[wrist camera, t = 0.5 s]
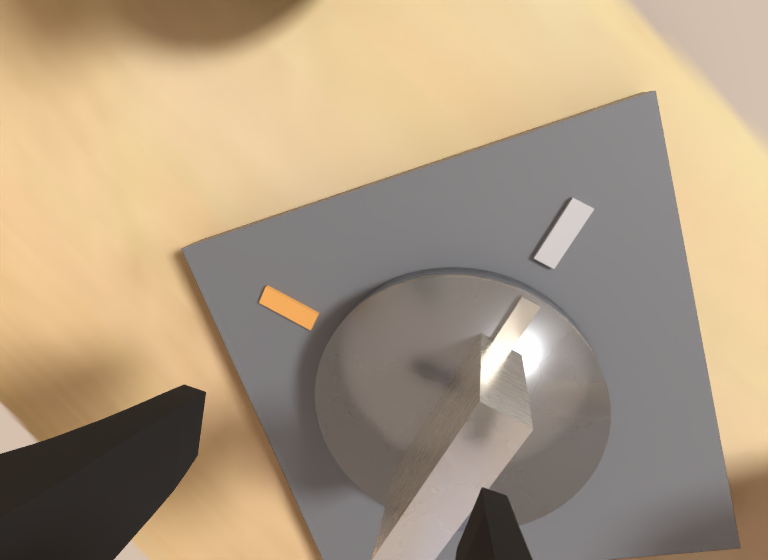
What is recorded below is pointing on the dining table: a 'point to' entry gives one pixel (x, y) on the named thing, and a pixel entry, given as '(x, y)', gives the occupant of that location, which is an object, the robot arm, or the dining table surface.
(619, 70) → the dining table surface
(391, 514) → the dial
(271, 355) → the dial base
